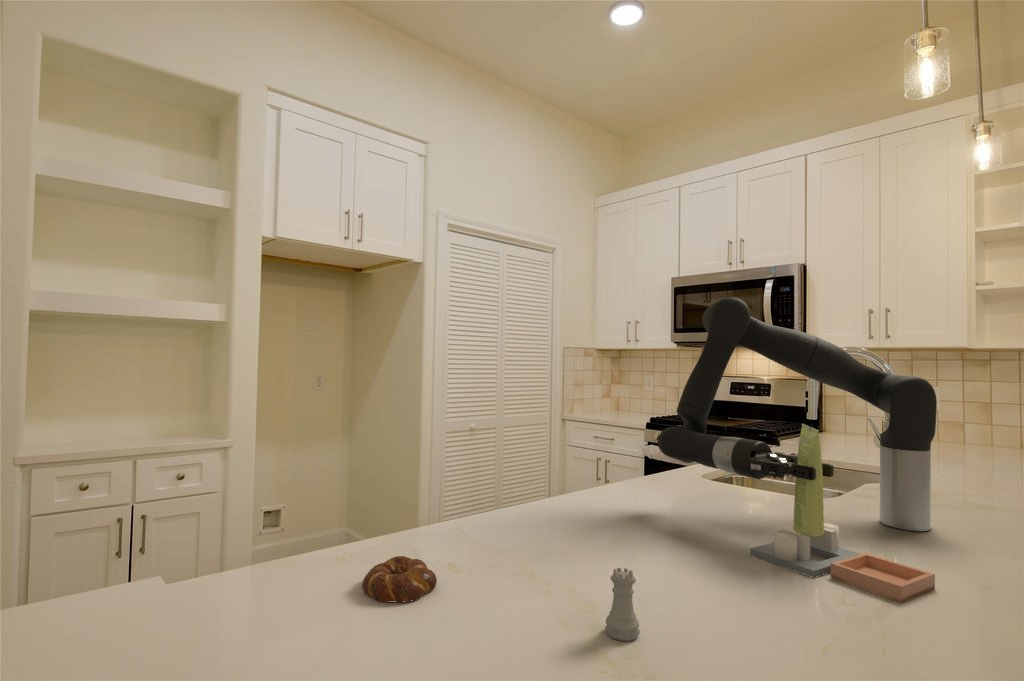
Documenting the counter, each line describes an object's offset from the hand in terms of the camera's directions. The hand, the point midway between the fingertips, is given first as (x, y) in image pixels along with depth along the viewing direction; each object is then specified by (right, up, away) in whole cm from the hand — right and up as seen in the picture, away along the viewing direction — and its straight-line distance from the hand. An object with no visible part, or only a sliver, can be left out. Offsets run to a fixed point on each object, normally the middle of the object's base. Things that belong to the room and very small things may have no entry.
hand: (823, 472), depth 99 cm
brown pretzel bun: (-73, -14, -15) cm, 76 cm away
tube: (-2, -12, +2) cm, 12 cm away
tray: (+4, -16, -9) cm, 19 cm away
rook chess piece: (-42, -15, -27) cm, 52 cm away
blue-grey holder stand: (-2, -16, +2) cm, 16 cm away
